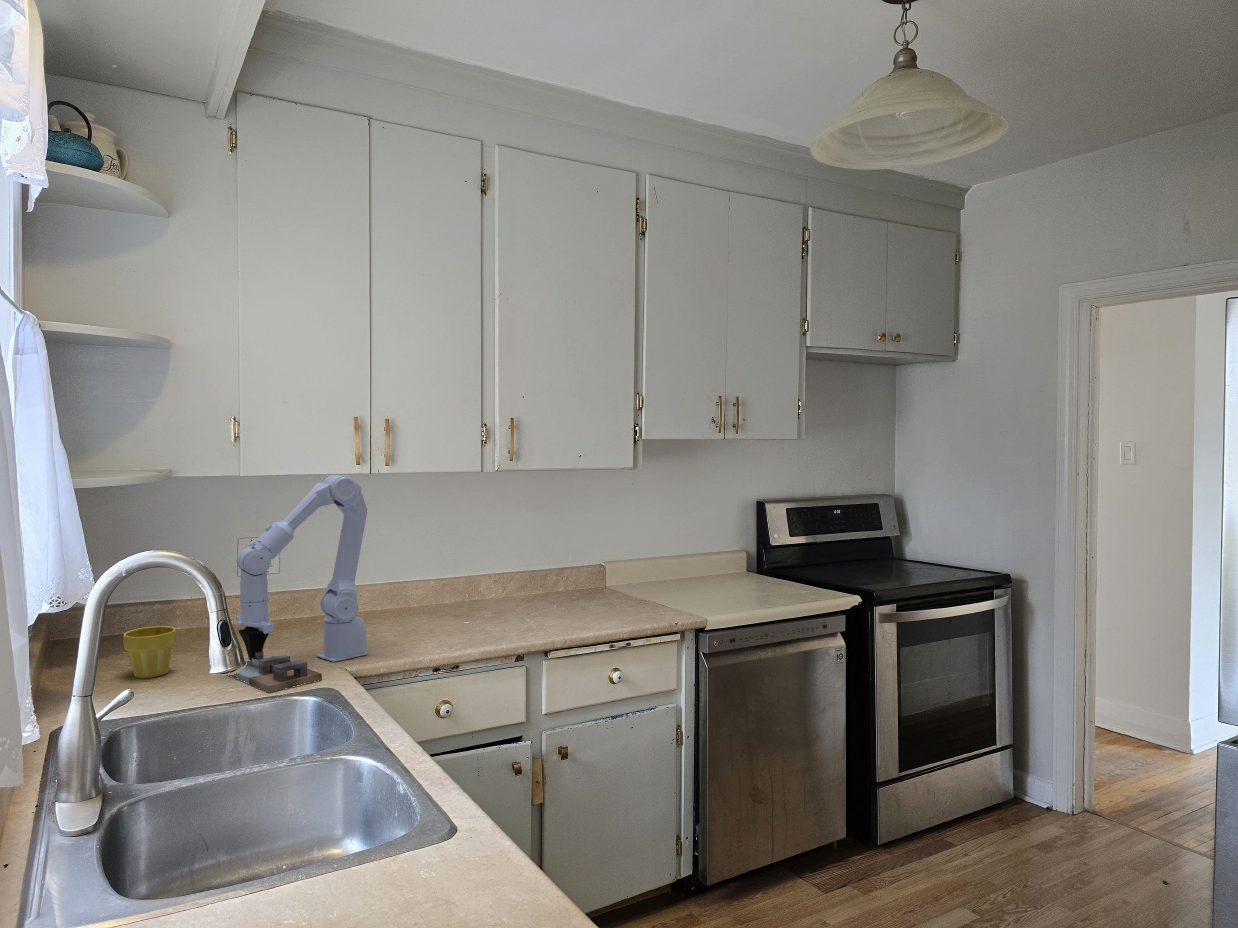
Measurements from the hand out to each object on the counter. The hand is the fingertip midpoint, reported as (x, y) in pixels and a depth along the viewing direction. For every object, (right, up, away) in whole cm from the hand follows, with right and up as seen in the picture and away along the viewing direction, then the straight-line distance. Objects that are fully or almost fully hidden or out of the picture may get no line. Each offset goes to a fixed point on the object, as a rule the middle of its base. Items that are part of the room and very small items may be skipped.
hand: (254, 659), depth 190 cm
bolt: (+5, -1, -4) cm, 7 cm away
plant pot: (-22, -3, -3) cm, 22 cm away
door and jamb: (+6, -3, -5) cm, 8 cm away
